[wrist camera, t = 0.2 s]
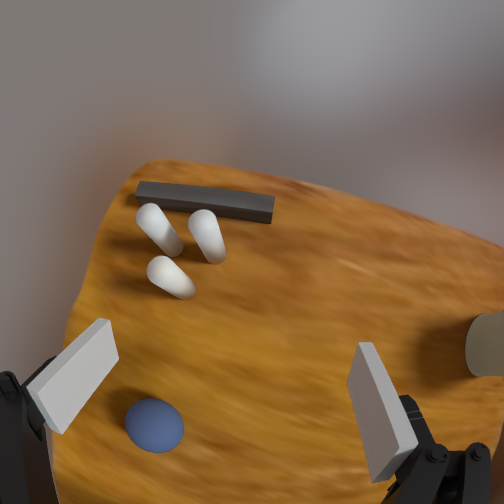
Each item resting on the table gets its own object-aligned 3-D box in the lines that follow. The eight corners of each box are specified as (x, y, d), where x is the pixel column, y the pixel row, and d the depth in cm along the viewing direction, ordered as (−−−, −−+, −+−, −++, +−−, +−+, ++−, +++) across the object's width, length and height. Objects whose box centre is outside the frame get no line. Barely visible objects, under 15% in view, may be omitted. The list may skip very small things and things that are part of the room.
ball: (186, 447, 24) (171, 469, 18) (136, 432, 24) (113, 448, 18) (193, 401, 25) (178, 416, 20) (141, 387, 26) (117, 396, 20)
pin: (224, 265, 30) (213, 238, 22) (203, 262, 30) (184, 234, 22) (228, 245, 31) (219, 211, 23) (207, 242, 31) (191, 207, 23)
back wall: (270, 224, 31) (272, 212, 28) (143, 206, 32) (134, 195, 29) (273, 208, 32) (274, 196, 29) (147, 193, 33) (139, 181, 30)
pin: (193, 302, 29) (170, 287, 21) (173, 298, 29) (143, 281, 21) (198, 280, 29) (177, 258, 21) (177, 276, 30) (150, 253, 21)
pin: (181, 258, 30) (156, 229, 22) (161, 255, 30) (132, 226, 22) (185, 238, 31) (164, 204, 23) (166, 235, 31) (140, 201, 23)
